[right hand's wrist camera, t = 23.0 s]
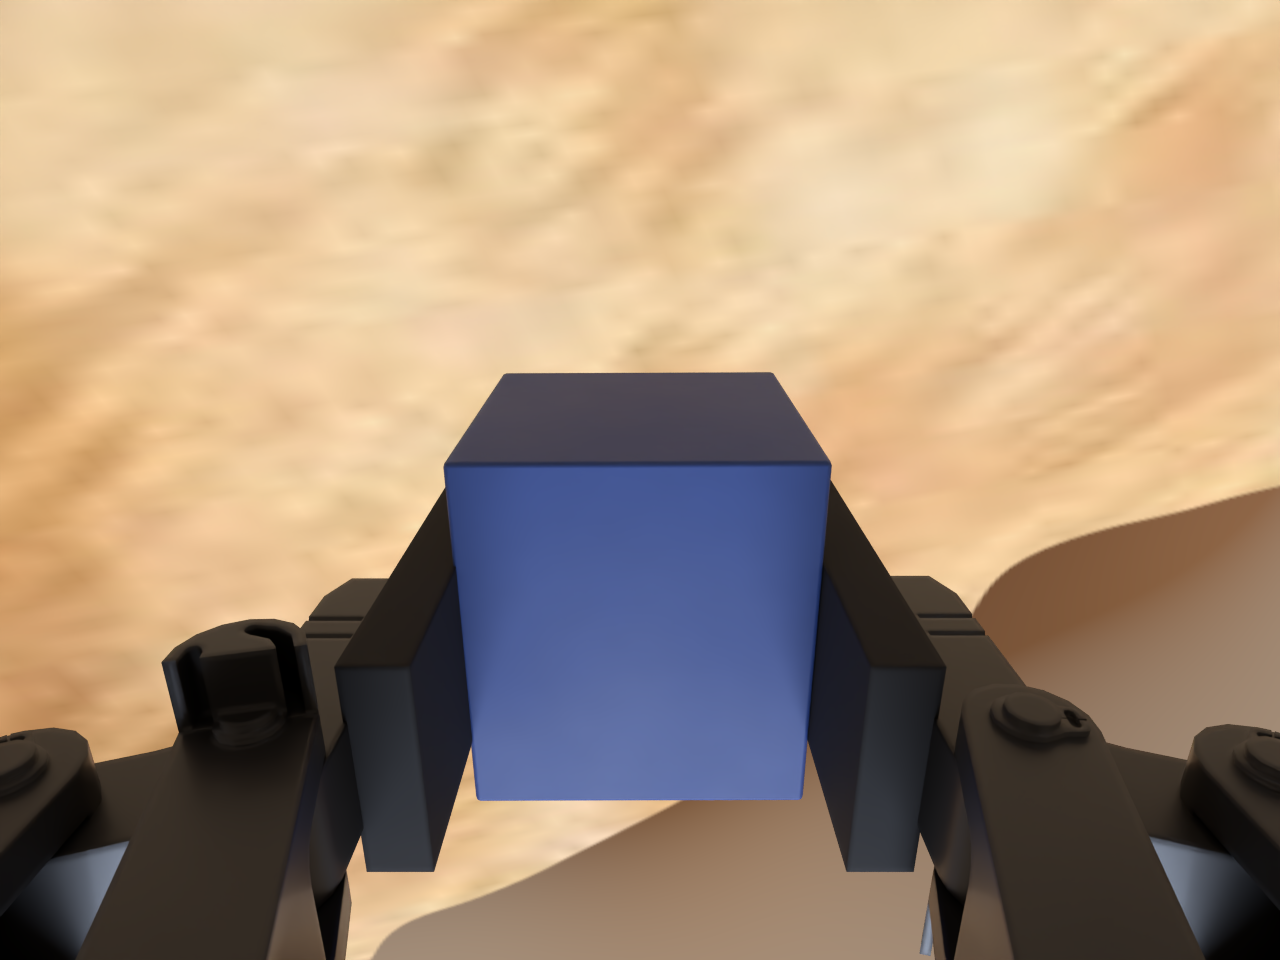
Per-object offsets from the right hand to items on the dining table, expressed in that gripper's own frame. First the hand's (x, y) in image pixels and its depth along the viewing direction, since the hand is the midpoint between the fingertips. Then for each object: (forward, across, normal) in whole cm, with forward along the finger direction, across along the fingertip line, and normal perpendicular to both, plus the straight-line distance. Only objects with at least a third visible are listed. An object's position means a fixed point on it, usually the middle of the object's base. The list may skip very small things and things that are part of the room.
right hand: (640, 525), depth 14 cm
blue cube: (0, 0, 0) cm, 0 cm away
